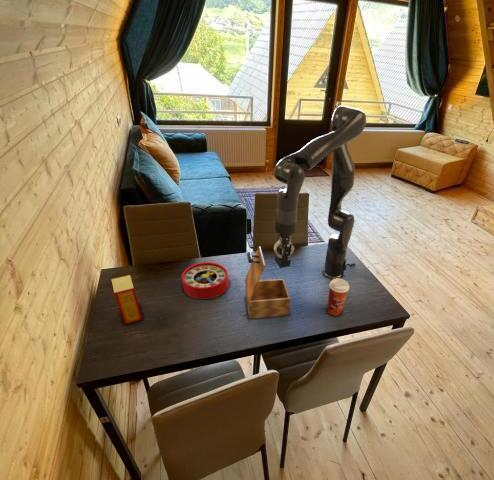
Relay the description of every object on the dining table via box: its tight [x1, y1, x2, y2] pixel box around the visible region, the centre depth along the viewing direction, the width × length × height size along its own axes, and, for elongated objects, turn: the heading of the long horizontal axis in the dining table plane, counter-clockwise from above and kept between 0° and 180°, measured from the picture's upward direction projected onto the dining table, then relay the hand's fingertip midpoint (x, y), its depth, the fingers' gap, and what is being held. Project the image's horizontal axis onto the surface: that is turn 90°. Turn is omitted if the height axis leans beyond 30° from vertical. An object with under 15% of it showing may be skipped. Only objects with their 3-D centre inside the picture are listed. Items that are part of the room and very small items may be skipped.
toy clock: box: [181, 261, 229, 300], centre depth 143 cm, size 20×6×20 cm
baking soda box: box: [110, 274, 144, 325], centre depth 122 cm, size 10×6×16 cm
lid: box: [244, 245, 266, 302], centre depth 123 cm, size 18×14×5 cm
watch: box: [273, 239, 295, 269], centre depth 122 cm, size 6×8×11 cm
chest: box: [245, 278, 291, 320], centre depth 133 cm, size 17×14×9 cm
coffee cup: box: [327, 277, 350, 317], centre depth 132 cm, size 8×8×15 cm
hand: (283, 258), depth 123 cm, fingers closed on watch, 4 cm apart
